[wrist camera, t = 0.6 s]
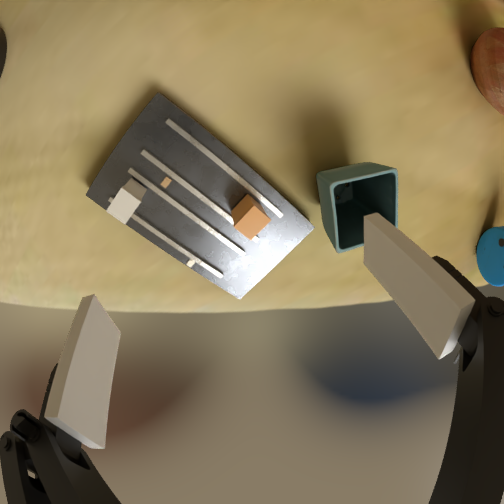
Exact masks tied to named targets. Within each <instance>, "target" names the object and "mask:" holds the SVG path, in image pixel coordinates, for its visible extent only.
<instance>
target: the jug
mask: <svg viewBox="0 0 504 504" xmlns="http://www.w3.org/2000/svg"><path fill="white" fill-rule="evenodd" d="M470 63H471V70H472V74H473V78H474V81H475V84H476V86H477V88H478V89H479V91H480V92H481V94H482V95H483V96H484V97H485V98H486V99H487V101H488V102H489V103H490V104H491V105H492V106H493V107H494V108H495V109H497V110H498V111H499V112H500V113H501V114H502V115H504V28H492V29H489V30H487V31H485V32H483V33H482V34H481V35H480V37H479V38H478V40H477V41H476V43H475V45H474V46H473V48H472V51H471V61H470Z"/></svg>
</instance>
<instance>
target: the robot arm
mask: <svg viewBox="0 0 504 504" xmlns="http://www.w3.org/2000/svg"><path fill="white" fill-rule="evenodd" d="M6 49H7V44H6V37H5V34H4V32H3V30H2V29H1V28H0V77H1V74H2V71H3V67H4V63H5V58H6ZM364 265H365V266H366V267H367V268H368V269H369V271H370V272H371V273H372V274H373V275H374V276H375V278H376V279H377V280H378V281H379V282H380V284H381V285H382V286H383V287H384V288H385V290H386V291H387V292H388V293H389V295H390V296H391V297H392V298H393V300H394V301H395V302H396V303H397V305H398V306H399V307H400V308H401V310H402V311H403V312H404V313H405V315H406V316H407V317H408V319H409V320H410V321H411V322H412V324H413V325H414V326H415V328H416V329H417V330H418V332H419V333H420V334H421V336H422V337H423V338H424V340H425V341H426V342H427V344H428V345H429V347H430V348H431V349H432V351H433V352H434V353H435V355H436V356H437V358H438V359H441V358H442V357H444V356H446V355H447V354H448V353H450V352H452V351H453V349H454V347H455V345H456V343H457V341H458V342H459V344H460V345H461V348H460V350H459V352H458V354H457V356H456V358H455V360H454V364H456V363H457V361H458V359H459V370H458V381H457V391H456V398H455V405H454V411H453V417H452V423H451V428H450V433H449V437H448V442H447V446H446V450H445V454H444V458H443V462H442V465H441V469H440V472H439V475H438V478H437V482H436V484H435V487H434V490H433V493H432V496H431V499H430V501H429V504H500V502H501V499H502V495H503V492H504V301H503V300H501V299H500V298H497V297H487V298H486V297H485V296H484V295H483V294H482V293H481V292H480V291H479V290H478V289H477V288H476V287H475V286H474V285H473V284H472V283H471V282H470V281H469V280H468V279H467V278H465V277H464V276H462V274H461V273H460V272H459V271H458V270H456V269H455V267H454V266H453V265H451V264H450V263H449V262H448V261H447V260H445V259H443V258H440V257H438V256H435V257H432V258H431V257H430V256H429V255H428V254H427V253H426V252H425V251H423V250H422V249H421V248H420V247H419V246H418V245H417V244H415V243H414V242H413V241H412V240H411V239H409V238H408V237H407V236H406V235H405V234H403V233H402V232H401V231H400V230H399V229H397V228H396V227H395V226H394V225H392V224H391V223H390V222H389V221H387V220H386V219H385V218H384V217H382V216H381V215H380V214H379V213H373V214H370V215H366V216H364ZM120 336H121V332H120V331H119V329H118V328H117V326H116V325H115V324H114V322H113V321H112V319H111V318H110V317H109V315H108V314H107V312H106V311H105V309H104V308H103V306H102V305H101V303H100V302H99V300H98V299H97V297H96V296H95V294H93V295H90V296H86V297H83V298H82V300H81V303H80V305H79V308H78V310H77V313H76V315H75V318H74V320H73V323H72V325H71V328H70V331H69V333H68V336H67V339H66V342H65V345H64V348H63V351H62V354H61V357H60V360H59V363H57V364H56V366H55V367H54V369H53V371H52V372H51V375H50V379H49V384H48V386H47V389H46V391H47V392H46V393H45V397H44V400H43V404H42V409H41V413H40V417H39V420H38V419H36V418H35V417H34V416H32V415H31V414H30V413H29V412H27V411H26V410H24V409H23V410H19V411H17V412H16V413H15V414H14V416H13V418H12V420H11V424H10V431H11V432H10V431H7V432H5V433H4V434H3V435H2V436H1V438H0V460H1V468H2V475H3V481H4V487H5V491H6V496H7V501H8V504H121V503H120V501H119V500H118V499H117V498H116V496H115V495H114V493H113V492H112V491H111V489H110V488H109V487H108V485H107V484H106V483H105V481H104V480H103V478H102V477H101V475H100V474H99V472H98V471H97V469H96V468H95V466H94V465H93V463H92V461H91V460H90V458H89V457H88V455H87V453H86V452H85V451H84V450H83V449H82V448H81V443H83V444H85V445H86V446H88V447H90V448H97V449H98V448H99V449H104V448H105V439H106V427H107V417H108V409H109V400H110V393H111V386H112V380H113V373H114V367H115V362H116V356H117V350H118V345H119V341H120ZM27 470H29V471H31V472H32V473H34V474H35V479H34V478H32V477H30V476H28V471H27Z"/></svg>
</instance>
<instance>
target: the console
mask: <svg viewBox="0 0 504 504" xmlns="http://www.w3.org/2000/svg"><path fill="white" fill-rule="evenodd" d="M131 178H133V179H134V180H135V181H137V182H138V183H139V184H141V185H142V186H143V187H145V188H146V189H147V191H146V192H145V194H144V196H143V197H142V199H141V200H142V201H141V203H140V204H139V206H138V207H137V208H136V210H135V211H134V213H133V214H132V215H131V217H130V218H129V220H128V221H127V223H126V225H128V226H129V227H130V228H132V229H133V230H135V231H136V232H138V233H139V234H140V235H142V236H143V237H145V238H146V239H148V240H149V241H151V242H152V243H154V244H155V245H157V246H158V247H159V248H161V249H162V250H164V251H165V252H167V253H168V254H170V255H171V256H173V257H174V258H176V259H177V260H179V261H180V262H182V263H183V264H185V265H186V266H188V267H190V268H191V269H193V270H194V271H196V272H197V273H199V274H200V275H202V276H203V277H205V278H207V279H208V280H210V281H211V282H213V283H214V284H216V285H218V286H219V287H221V288H222V289H224V290H225V291H227V292H229V293H230V294H232V295H233V296H235V297H237V298H238V299H241V298H242V297H243V296H244V295H245V294H246V293H247V292H248V291H249V290H250V289H252V288H253V287H254V286H255V285H256V284H257V283H258V282H259V281H260V280H261V279H262V278H263V277H264V276H265V275H266V274H267V273H268V272H269V271H271V270H272V269H273V268H274V267H275V266H276V265H277V264H278V263H279V262H280V261H281V260H282V259H283V258H284V257H285V256H286V255H287V254H288V253H289V252H290V251H291V250H292V249H293V248H294V247H295V246H297V245H298V244H299V243H300V242H301V241H302V240H303V239H304V238H305V237H306V236H307V235H308V234H309V233H310V232H311V231H312V230H313V229H314V228H315V227H314V226H313V225H312V224H311V222H310V221H309V220H308V219H307V218H306V217H305V216H304V215H303V214H301V213H300V212H299V211H298V210H297V209H296V208H295V207H294V206H293V205H292V204H291V203H290V202H289V201H288V200H287V199H286V198H285V197H283V196H282V195H281V194H280V193H279V192H278V191H277V190H276V189H275V188H274V187H273V186H271V185H270V184H269V183H268V182H267V181H266V180H265V179H264V178H263V177H262V176H260V175H259V174H258V173H257V172H256V171H255V170H254V169H253V168H251V167H250V166H249V165H248V164H247V163H246V162H245V161H243V160H242V159H241V158H240V157H239V156H238V155H237V154H235V153H234V152H233V151H232V150H231V149H230V148H228V147H227V146H226V145H225V144H224V143H222V142H221V141H220V140H219V139H218V138H216V137H215V136H214V135H213V134H212V133H210V132H209V131H208V130H207V129H206V128H204V127H203V126H202V125H201V124H199V123H198V122H197V121H196V120H194V119H193V118H192V117H191V116H189V115H188V114H187V113H186V112H184V111H183V110H182V109H181V108H179V107H178V106H177V105H176V104H174V103H173V102H172V101H170V100H169V99H168V98H166V97H165V96H164V95H162V94H161V93H157V94H156V95H155V96H154V98H153V99H152V100H151V101H150V102H149V104H148V105H147V106H146V107H145V109H144V110H143V111H142V112H141V114H140V115H139V116H138V117H137V119H136V120H135V121H134V123H133V124H132V125H131V127H130V128H129V129H128V131H127V132H126V133H125V135H124V136H123V137H122V139H121V140H120V142H119V143H118V145H117V146H116V147H115V149H114V150H113V152H112V153H111V155H110V156H109V158H108V159H107V161H106V162H105V164H104V165H103V167H102V169H101V170H100V172H99V173H98V175H97V177H96V178H95V180H94V181H93V183H92V185H91V187H90V188H89V190H88V192H87V193H86V196H87V197H89V198H90V199H92V200H93V201H94V202H96V203H97V204H98V205H100V206H101V207H102V208H104V209H105V210H107V209H108V207H109V206H110V204H111V203H112V201H113V200H114V198H115V197H116V195H117V193H118V192H119V190H120V189H121V188H122V186H125V184H126V183H127V182H128V181H129V180H130V179H131ZM247 194H249V195H250V196H251V197H252V198H253V199H254V200H256V201H257V202H258V203H259V204H260V205H261V206H262V207H263V209H264V210H265V212H266V214H267V216H268V217H269V218H270V219H271V221H270V222H269V223H268V224H267V225H266V226H265V227H264V228H263V229H262V230H261V231H260V232H259V233H258V234H257V235H256V236H255V237H254V238H253V239H252V240H249V239H248V238H247V237H246V236H244V235H243V234H242V233H240V232H239V231H238V230H236V229H235V228H234V227H233V224H234V222H233V218H232V214H231V211H232V210H233V209H234V208H235V207H236V206H237V205H238V204H239V202H240V201H241V200H242V199H243V198H244V197H245V196H246V195H247Z"/></svg>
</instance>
